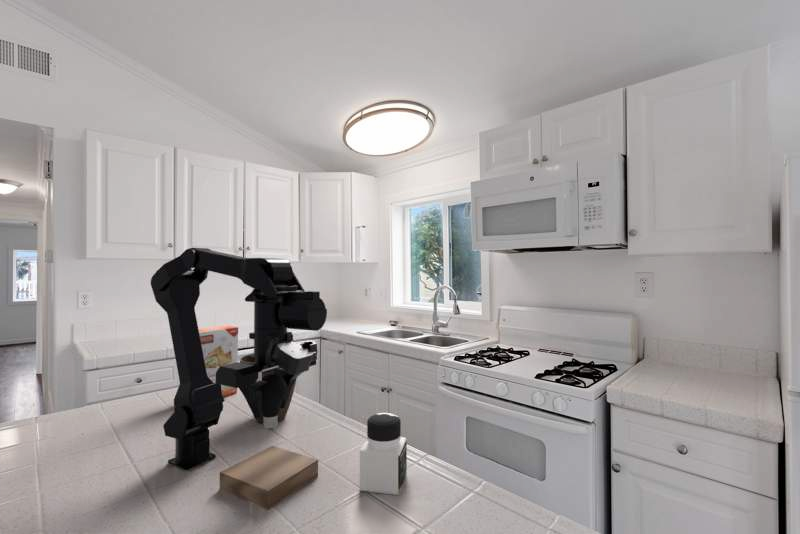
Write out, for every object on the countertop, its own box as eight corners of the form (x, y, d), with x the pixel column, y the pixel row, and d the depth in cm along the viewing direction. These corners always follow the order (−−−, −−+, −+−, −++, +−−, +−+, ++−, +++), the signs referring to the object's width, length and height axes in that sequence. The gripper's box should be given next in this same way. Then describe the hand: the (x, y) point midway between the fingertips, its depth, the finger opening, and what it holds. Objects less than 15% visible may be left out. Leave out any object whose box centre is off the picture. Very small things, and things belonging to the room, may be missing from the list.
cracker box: (194, 406, 112) (194, 332, 112) (183, 402, 115) (183, 330, 115) (238, 393, 123) (238, 326, 124) (227, 390, 127) (227, 324, 127)
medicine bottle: (399, 496, 68) (399, 425, 68) (359, 491, 69) (359, 422, 69) (406, 474, 75) (406, 411, 75) (370, 471, 76) (370, 408, 76)
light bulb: (294, 427, 73) (294, 373, 73) (268, 439, 68) (268, 380, 68) (272, 420, 76) (273, 368, 76) (246, 431, 71) (246, 375, 71)
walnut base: (219, 489, 70) (219, 472, 70) (272, 460, 80) (272, 445, 80) (268, 509, 64) (268, 490, 64) (318, 475, 74) (318, 459, 74)
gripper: (261, 339, 60) (260, 442, 60) (338, 324, 76) (337, 405, 76) (213, 332, 66) (213, 427, 65) (295, 320, 82) (294, 395, 82)
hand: (270, 412), depth 72 cm, fingers closed on light bulb, 5 cm apart
